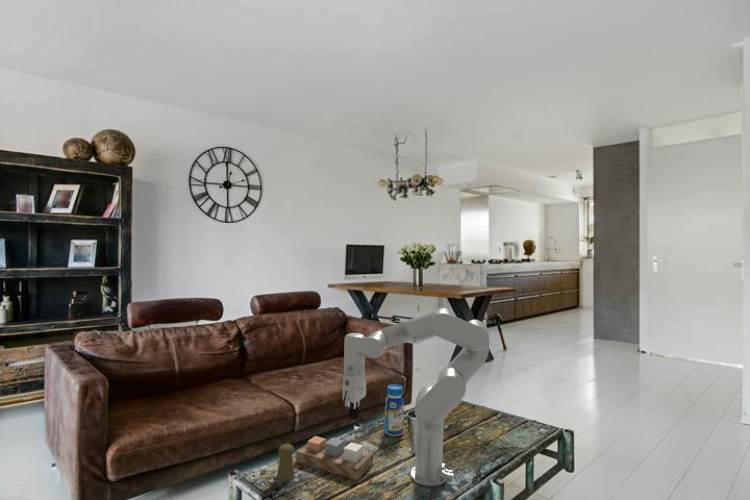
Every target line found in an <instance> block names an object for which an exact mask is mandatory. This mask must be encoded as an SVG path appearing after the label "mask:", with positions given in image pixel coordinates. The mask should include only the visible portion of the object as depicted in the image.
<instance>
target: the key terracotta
mask: <svg viewBox="0 0 750 500" xmlns="http://www.w3.org/2000/svg"><path fill="white" fill-rule="evenodd" d="M326 441H327V439H326V437H325V438H324V437H320V436H317V435H314V436H313V437H312V438H310V439H308V440H307V443H308V450H311V451H315V452H318V453H319V452H321V451H322V450H323V449H324V448H325V443H326Z"/></svg>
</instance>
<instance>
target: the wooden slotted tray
mask: <svg viewBox="0 0 750 500" xmlns="http://www.w3.org/2000/svg"><path fill="white" fill-rule="evenodd" d="M328 441H329V440H328ZM328 441H327V440H326V442H328ZM346 446H347V445H346ZM346 446H345V445H344V448H345V447H346ZM295 455H296V461H295V462H296V463H299V464H302V465H305V466H309V467H312V468H315V469H319V470H323V471H325V472H329V473H331V474H332V473H333V474H334V475H339V476H342V477H346V478H348V479H351V480H355V481H359V479H360V478H361V477H362V476H363V475H364V474H365V473H366V472H367V471H368V470H369V469H370V468H371V467H372V466H373V465H374V453H373V452H368V451H366V450H365V451H364V450H363V458H362V459H361V460H360V461H359V462H358V463H357V464H356V463H353V462H349V461H346V460H344V453H343V454H341V455H340V456H339V457H338V458H335V457H332V456H328V455H325V448H324V449H323V450H322V451H321V452H319V453H318V452H315V451H311V450H308V442H307V443H306V444H305V445H303V446H302V447H300V448H298V449H297V450H296V453H295Z"/></svg>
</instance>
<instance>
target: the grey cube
mask: <svg viewBox="0 0 750 500" xmlns="http://www.w3.org/2000/svg"><path fill="white" fill-rule="evenodd" d="M344 446H345V440H343V439H341V438H336V437H331V438H330V439H329V440H328V442H326V443H325V455H328V456H332V457H335V458H338V457H339V456H340V455H341V454H343V453H344Z"/></svg>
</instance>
